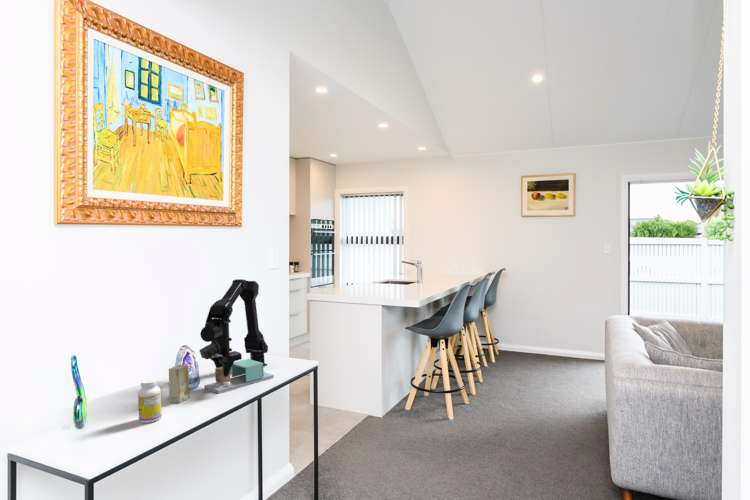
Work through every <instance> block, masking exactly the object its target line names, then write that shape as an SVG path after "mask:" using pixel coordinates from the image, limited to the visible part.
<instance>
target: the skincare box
mask: <svg viewBox="0 0 750 500" xmlns="http://www.w3.org/2000/svg"><path fill="white" fill-rule="evenodd" d="M189 379H190V378H189V365H188V364H177V365H175V366H172V367H170V368H168V391H169V392H168V393H169V394H168V396H169V397H168V398H169V399H168V400H169V403H176V404H179V403H182V402H184V401H186V400H187V399H189V398H190V388H189V387H190V383H189V382H190V380H189Z"/></svg>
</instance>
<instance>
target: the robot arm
mask: <svg viewBox="0 0 750 500" xmlns="http://www.w3.org/2000/svg"><path fill="white" fill-rule="evenodd" d="M259 290H260V285H259V283H258V282H257V281H255V280H246V279H242V278H241V279H239V278H238V279H234V280H232V283H231V285H230V286H229V288H228V289H227V290H226V292H225V294H224V295H223V296H222V298H220V299H218V300H216V301H215V302H214V303H212V305H211V306H210V308H209V310H208V313H207V315H206V316H207V317H206V320H205V324H204V327H203V328H201V330H200V332H199V335H200V338H201V339H202V341H204V342H205V343H206V342H207V343H209V344H208V345H206V346H204V347H202V348H200V349H199V353H200V354H199V355H200V356H201V359H205V360H209V359H210V360H211V361H213V363H214V366H215V368H219V367H223V371H224V377H227V376H228V374H229V372H230V373H231V367H232V365H233V363H234V362H237V361H242V359H243V357H242V353H241V352H240V351H235V350H233V349H232V348H231V347H230V344H231V343H230V342H231V341H232V340H233V339H232V337H230V325H229V324H230V323H231V322H232V320H231V319H230V317H231V316H232V313H233V311H234V310H233V306H234V303H235V302H236V301H237V299H238V298H239V297H240V298H241V300H242V301H243V302H244V312H245V320H246V328H247V329H246V330H247V334H246V335H245V337H244V339H243V340H244V349H245V353H246V354H249V355H250V358H249V359H250V360H254V361H258V362H261V363H263V367H265V366H267V365H268V363H265V354H266V353H268V351H269V345H267V342H266V341H265V338H264V335H263V333H262V332H261V331H260V329H259V320H258V311H257V303H256V299H257V296H258V295H259Z"/></svg>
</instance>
